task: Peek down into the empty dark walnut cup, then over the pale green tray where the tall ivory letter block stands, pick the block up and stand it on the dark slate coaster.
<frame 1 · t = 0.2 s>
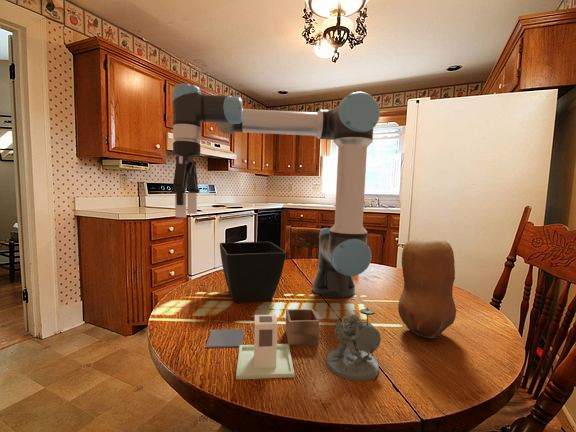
hand: (186, 215, 86), 28 cm above the table, fingers open, 13 cm apart
flower pot: (250, 296, 100), on the table
slate coaster: (225, 339, 70), on the table
butternut squash: (424, 335, 75), on the table
letter block: (264, 361, 61), resting on green tray
walnut cup: (301, 338, 71), on the table
green tray: (264, 362, 61), on the table
figurine: (352, 366, 61), on the table
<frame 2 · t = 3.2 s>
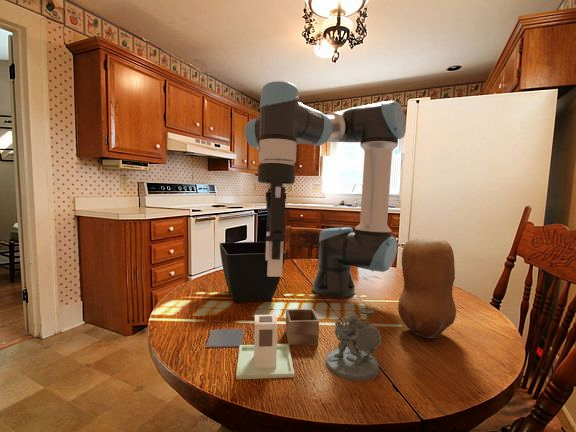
hand: (272, 267, 61), 20 cm above the table, fingers open, 13 cm apart
nothing on the table moved.
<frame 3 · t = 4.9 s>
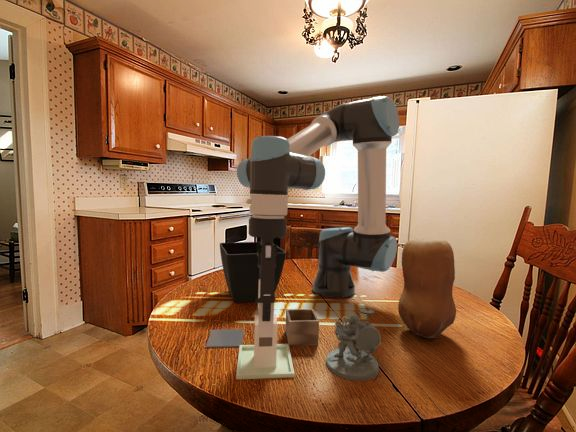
hand: (264, 320, 60), 9 cm above the table, fingers open, 13 cm apart
nothing on the table moved.
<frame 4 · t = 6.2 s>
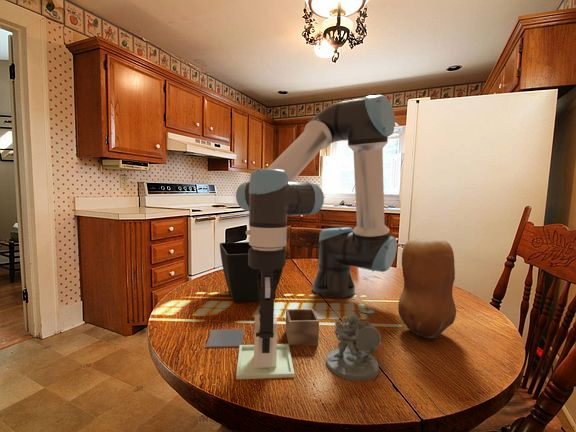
hand: (264, 358, 61), 1 cm above the table, fingers closed on letter block, 5 cm apart
letter block: (264, 361, 61), resting on green tray, touching gripper
everything else where it was.
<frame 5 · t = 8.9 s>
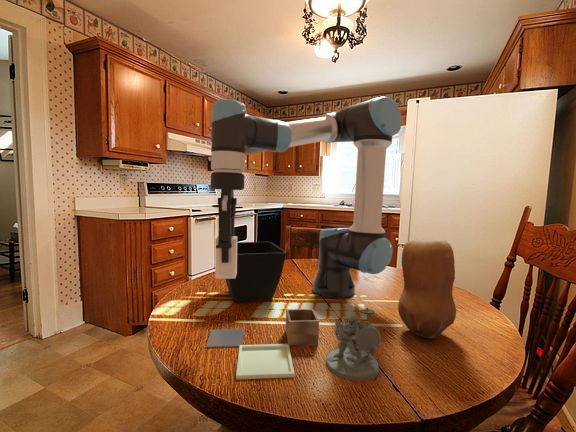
hand: (226, 272, 69), 16 cm above the table, fingers closed on letter block, 5 cm apart
letter block: (226, 275, 69), point 16 cm above the table, touching gripper
everything else where it was.
when the fingers open (2 cm above the table, at t = 11.6 s): letter block stays where it is, resting on slate coaster.
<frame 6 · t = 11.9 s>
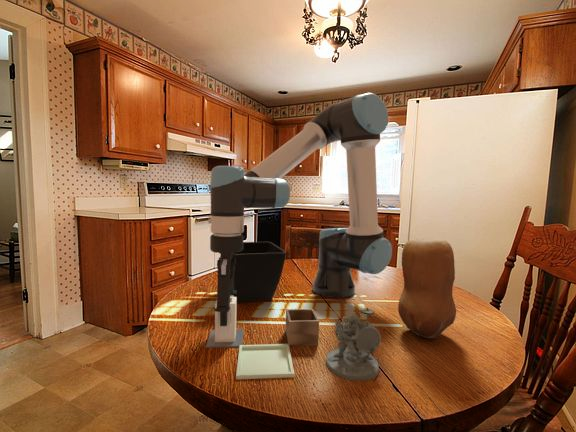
hand: (226, 328, 70), 3 cm above the table, fingers open, 8 cm apart
letter block: (225, 337, 70), point 1 cm above the table, touching slate coaster
everything else where it was.
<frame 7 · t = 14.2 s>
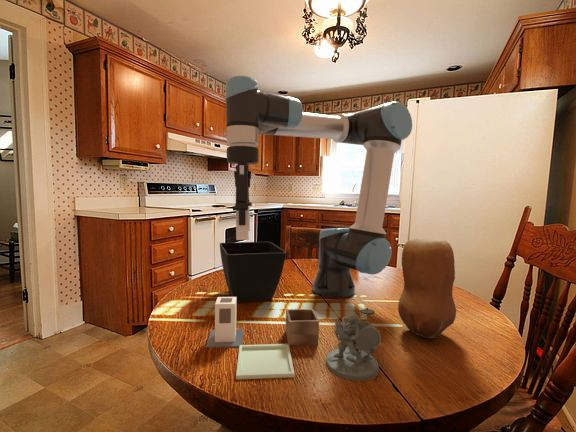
hand: (243, 234, 72), 25 cm above the table, fingers open, 13 cm apart
nothing on the table moved.
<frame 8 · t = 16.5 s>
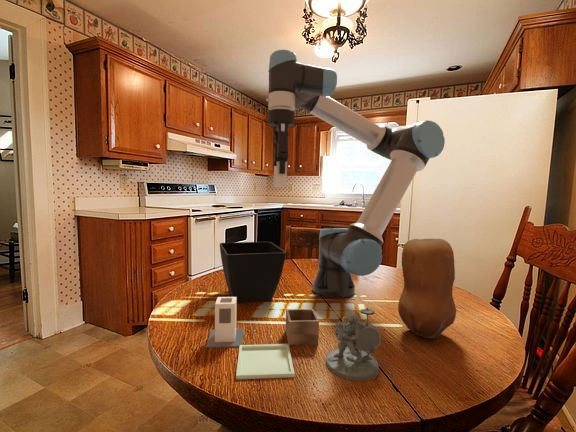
hand: (279, 187, 84), 37 cm above the table, fingers open, 13 cm apart
nothing on the table moved.
at the end: letter block inside the target area on the slate coaster (0.1 cm from its centre), point 0.6 cm above the slate coaster's base; letter block tilted 0°; the gripper is holding nothing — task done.
